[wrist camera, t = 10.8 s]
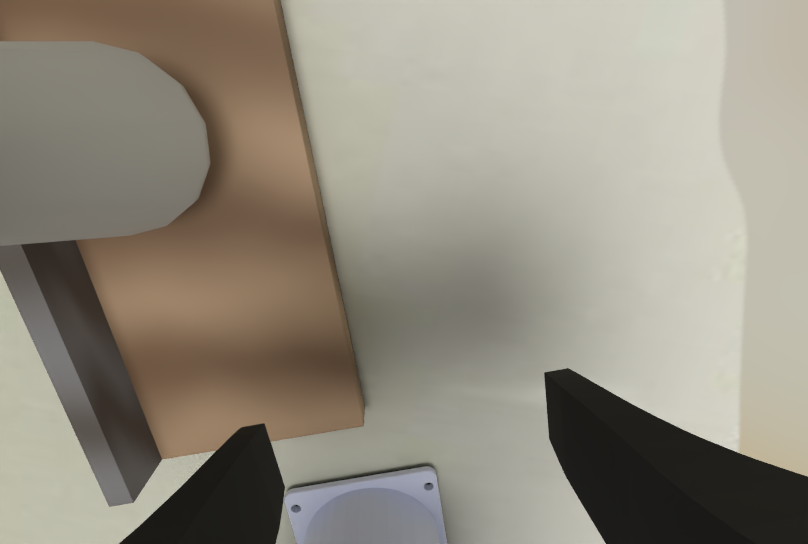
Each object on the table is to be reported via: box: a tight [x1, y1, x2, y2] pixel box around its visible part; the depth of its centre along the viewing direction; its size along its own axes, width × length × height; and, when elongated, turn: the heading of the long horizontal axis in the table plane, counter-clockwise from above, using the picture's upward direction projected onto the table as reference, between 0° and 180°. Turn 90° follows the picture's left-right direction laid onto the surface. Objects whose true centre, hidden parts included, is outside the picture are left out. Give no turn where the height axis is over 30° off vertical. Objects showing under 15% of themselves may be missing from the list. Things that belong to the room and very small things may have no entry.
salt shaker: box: [0, 41, 210, 246], centre depth 10 cm, size 6×6×13 cm
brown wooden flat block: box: [0, 0, 365, 507], centre depth 17 cm, size 20×11×4 cm, turn 9°
